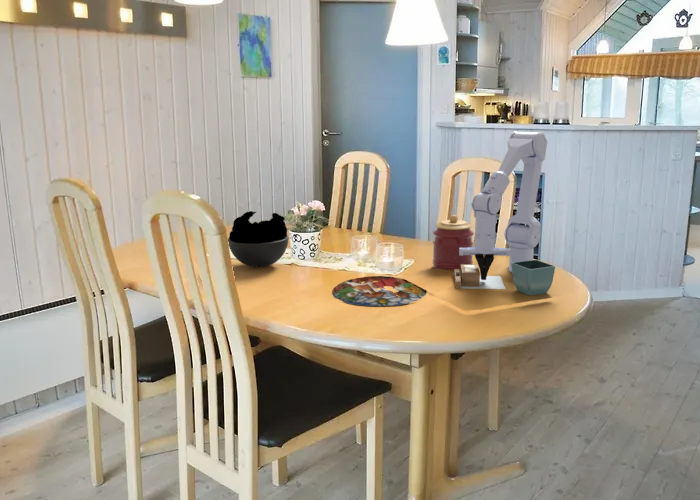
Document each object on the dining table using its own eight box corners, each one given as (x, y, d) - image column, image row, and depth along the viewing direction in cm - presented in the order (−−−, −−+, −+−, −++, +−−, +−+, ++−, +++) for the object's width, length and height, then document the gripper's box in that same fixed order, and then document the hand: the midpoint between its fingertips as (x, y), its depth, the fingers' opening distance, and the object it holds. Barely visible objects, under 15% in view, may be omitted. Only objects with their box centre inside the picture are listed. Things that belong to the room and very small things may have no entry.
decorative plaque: (409, 268, 207) (448, 292, 179) (409, 276, 208) (448, 301, 180) (317, 277, 200) (342, 304, 171) (317, 285, 200) (343, 314, 172)
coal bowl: (218, 266, 220) (214, 211, 215) (267, 256, 233) (265, 204, 228) (250, 278, 205) (248, 219, 201) (301, 266, 218) (299, 211, 214)
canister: (460, 275, 205) (462, 219, 201) (425, 269, 213) (425, 215, 209) (479, 266, 216) (481, 213, 212) (444, 261, 223) (445, 210, 219)
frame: (460, 277, 199) (460, 263, 198) (477, 277, 199) (477, 264, 198) (462, 286, 190) (462, 272, 189) (479, 286, 189) (479, 272, 188)
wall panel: (454, 278, 202) (454, 265, 201) (500, 279, 200) (500, 266, 199) (455, 291, 188) (456, 278, 187) (505, 292, 187) (506, 279, 186)
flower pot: (509, 292, 187) (510, 262, 185) (535, 289, 190) (536, 259, 188) (527, 301, 179) (529, 269, 177) (554, 297, 182) (556, 266, 180)
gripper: (460, 236, 187) (459, 282, 190) (512, 237, 186) (510, 283, 189) (459, 231, 194) (458, 275, 197) (509, 232, 193) (507, 276, 196)
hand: (483, 279), depth 194 cm, fingers closed
